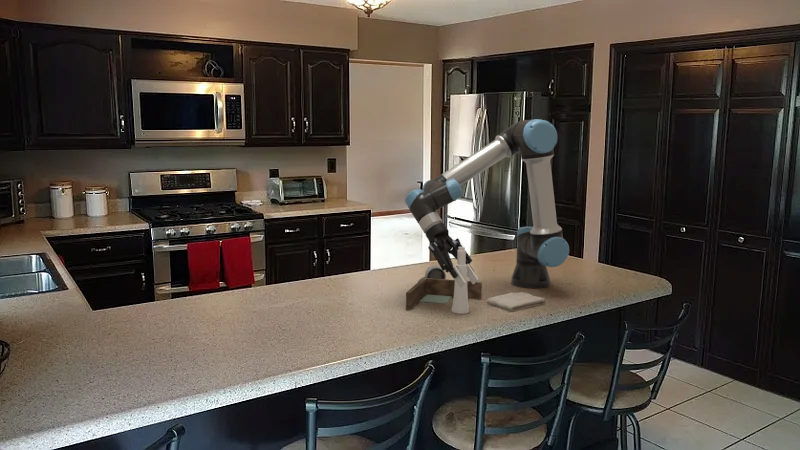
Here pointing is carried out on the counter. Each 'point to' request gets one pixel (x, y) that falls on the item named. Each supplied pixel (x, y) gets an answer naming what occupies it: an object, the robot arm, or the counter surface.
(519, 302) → the washcloth
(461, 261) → the cosmetic bottle
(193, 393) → the counter surface
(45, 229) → the counter surface
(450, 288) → the walnut corner walls
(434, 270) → the ceramic mug
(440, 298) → the mat
